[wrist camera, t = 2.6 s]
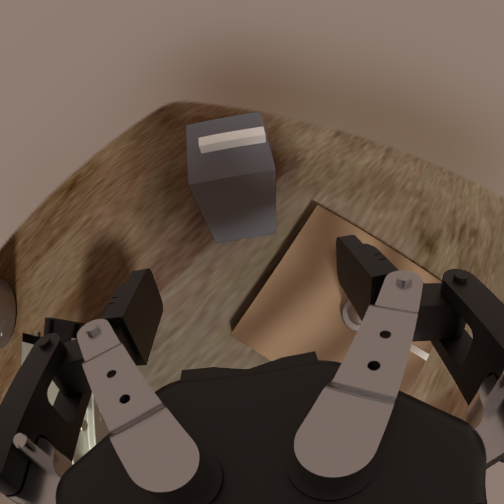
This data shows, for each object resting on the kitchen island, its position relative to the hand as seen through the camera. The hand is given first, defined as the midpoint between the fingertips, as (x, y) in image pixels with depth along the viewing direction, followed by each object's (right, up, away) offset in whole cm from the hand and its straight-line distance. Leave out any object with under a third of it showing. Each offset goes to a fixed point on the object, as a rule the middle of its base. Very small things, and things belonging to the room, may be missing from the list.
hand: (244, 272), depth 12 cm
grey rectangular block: (-1, +5, +16) cm, 17 cm away
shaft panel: (+9, -5, +12) cm, 16 cm away
